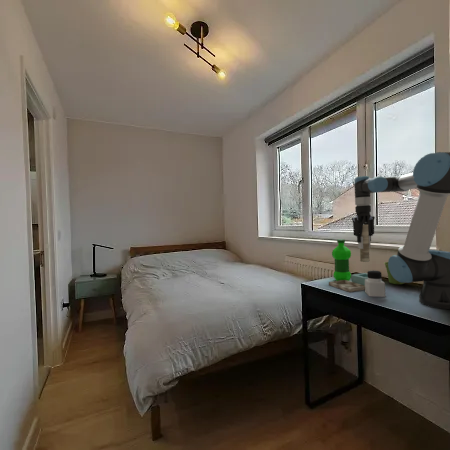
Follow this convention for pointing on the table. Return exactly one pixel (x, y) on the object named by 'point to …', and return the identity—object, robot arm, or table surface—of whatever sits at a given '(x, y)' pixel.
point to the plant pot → (390, 277)
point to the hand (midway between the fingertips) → (364, 248)
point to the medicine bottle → (374, 284)
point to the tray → (347, 285)
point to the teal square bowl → (359, 278)
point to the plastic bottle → (341, 261)
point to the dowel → (365, 244)
